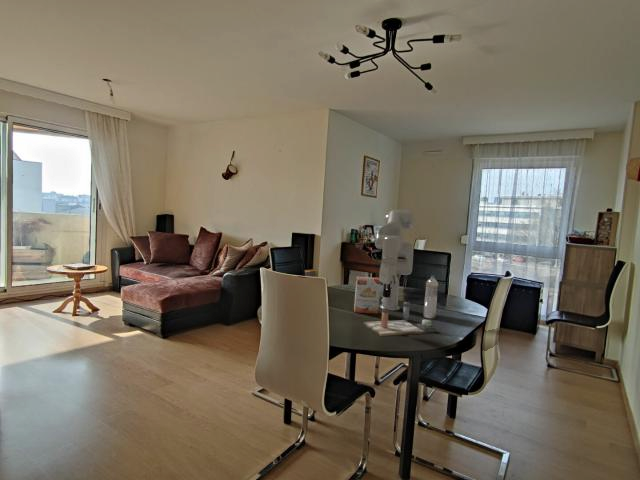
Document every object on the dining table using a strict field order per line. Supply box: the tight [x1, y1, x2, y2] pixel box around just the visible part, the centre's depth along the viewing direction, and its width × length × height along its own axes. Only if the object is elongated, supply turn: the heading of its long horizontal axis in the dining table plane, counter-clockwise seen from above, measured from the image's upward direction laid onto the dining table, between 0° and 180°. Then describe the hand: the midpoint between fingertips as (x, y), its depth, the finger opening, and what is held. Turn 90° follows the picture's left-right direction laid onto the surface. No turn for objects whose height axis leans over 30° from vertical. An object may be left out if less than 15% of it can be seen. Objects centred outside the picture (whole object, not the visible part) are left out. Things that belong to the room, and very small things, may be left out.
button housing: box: [416, 322, 437, 334], centre depth 194 cm, size 7×7×2 cm
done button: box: [421, 318, 432, 327], centre depth 194 cm, size 5×5×4 cm
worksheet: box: [363, 319, 425, 337], centre depth 193 cm, size 19×25×1 cm
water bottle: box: [423, 274, 439, 320], centre depth 218 cm, size 7×7×25 cm
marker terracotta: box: [381, 307, 390, 328], centre depth 190 cm, size 3×3×10 cm
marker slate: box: [402, 301, 411, 322], centre depth 210 cm, size 3×3×10 cm
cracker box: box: [353, 276, 382, 315], centre depth 221 cm, size 14×6×21 cm, turn 92°
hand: (386, 296), depth 189 cm, fingers closed
